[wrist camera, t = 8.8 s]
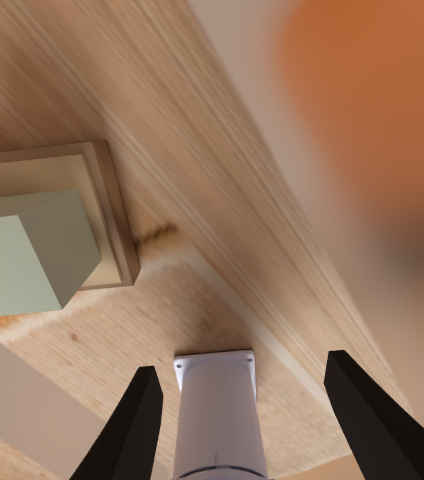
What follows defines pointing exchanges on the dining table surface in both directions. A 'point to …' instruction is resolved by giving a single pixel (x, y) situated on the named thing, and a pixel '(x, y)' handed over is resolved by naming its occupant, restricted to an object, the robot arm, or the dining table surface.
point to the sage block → (43, 251)
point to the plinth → (92, 197)
